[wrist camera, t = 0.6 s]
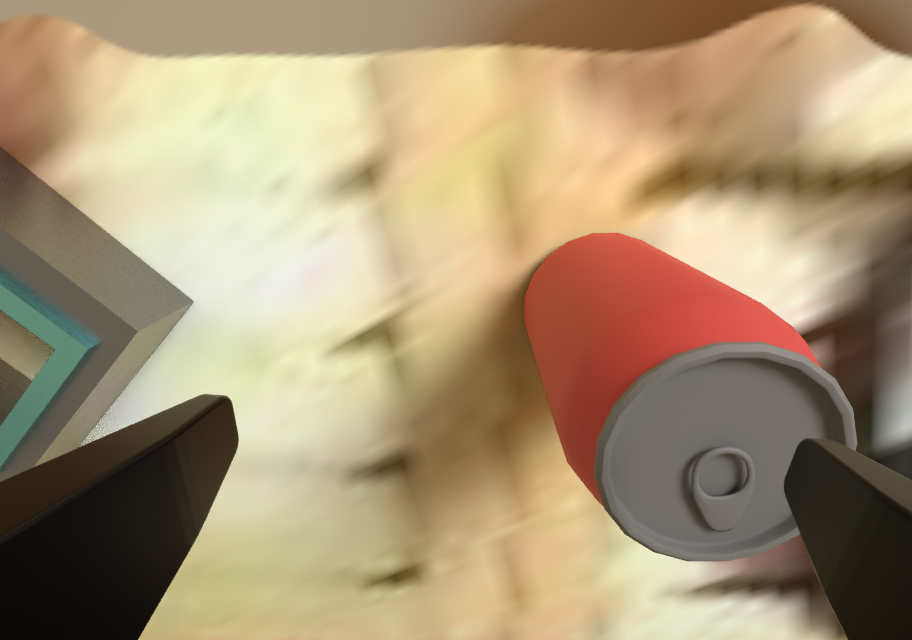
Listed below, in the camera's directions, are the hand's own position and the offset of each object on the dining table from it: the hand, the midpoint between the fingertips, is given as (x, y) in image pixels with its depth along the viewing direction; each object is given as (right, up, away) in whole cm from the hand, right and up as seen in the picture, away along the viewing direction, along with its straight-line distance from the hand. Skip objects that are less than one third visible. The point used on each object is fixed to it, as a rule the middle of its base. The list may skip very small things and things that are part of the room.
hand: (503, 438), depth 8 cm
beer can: (+5, +3, +14) cm, 16 cm away
